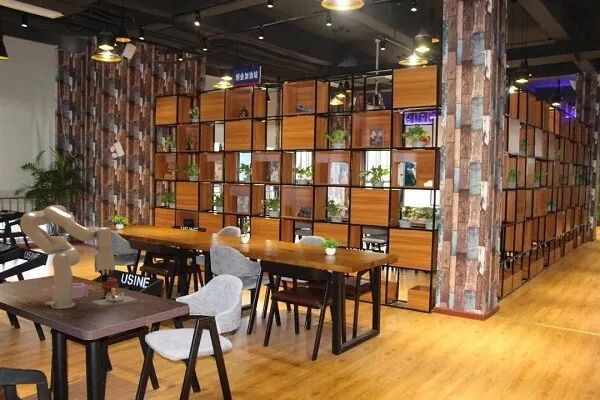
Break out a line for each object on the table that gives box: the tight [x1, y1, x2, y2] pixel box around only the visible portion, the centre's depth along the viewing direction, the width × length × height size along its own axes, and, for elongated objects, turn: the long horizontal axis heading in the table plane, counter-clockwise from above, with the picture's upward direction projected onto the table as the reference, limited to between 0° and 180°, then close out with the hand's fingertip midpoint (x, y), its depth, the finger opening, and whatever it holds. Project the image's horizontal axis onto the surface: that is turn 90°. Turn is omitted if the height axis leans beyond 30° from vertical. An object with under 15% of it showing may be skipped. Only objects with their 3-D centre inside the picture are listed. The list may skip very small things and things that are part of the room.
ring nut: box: [105, 288, 125, 302], centre depth 313 cm, size 11×14×9 cm
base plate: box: [91, 295, 138, 309], centre depth 315 cm, size 22×13×2 cm, turn 133°
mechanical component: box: [100, 277, 120, 298], centre depth 327 cm, size 12×10×10 cm
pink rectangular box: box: [50, 282, 89, 300], centre depth 329 cm, size 20×12×7 cm, turn 128°
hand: (104, 281), depth 301 cm, fingers closed
